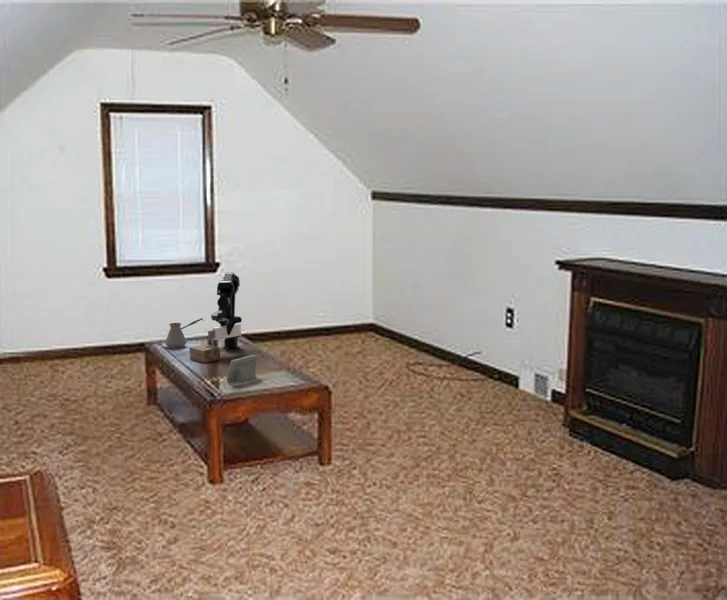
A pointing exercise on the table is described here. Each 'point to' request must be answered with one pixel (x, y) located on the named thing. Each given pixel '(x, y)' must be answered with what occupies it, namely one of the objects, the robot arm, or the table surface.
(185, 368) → the table surface
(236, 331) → the white curved bar
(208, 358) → the tan notched block
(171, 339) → the coffee pot
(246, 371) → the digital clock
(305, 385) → the table surface
